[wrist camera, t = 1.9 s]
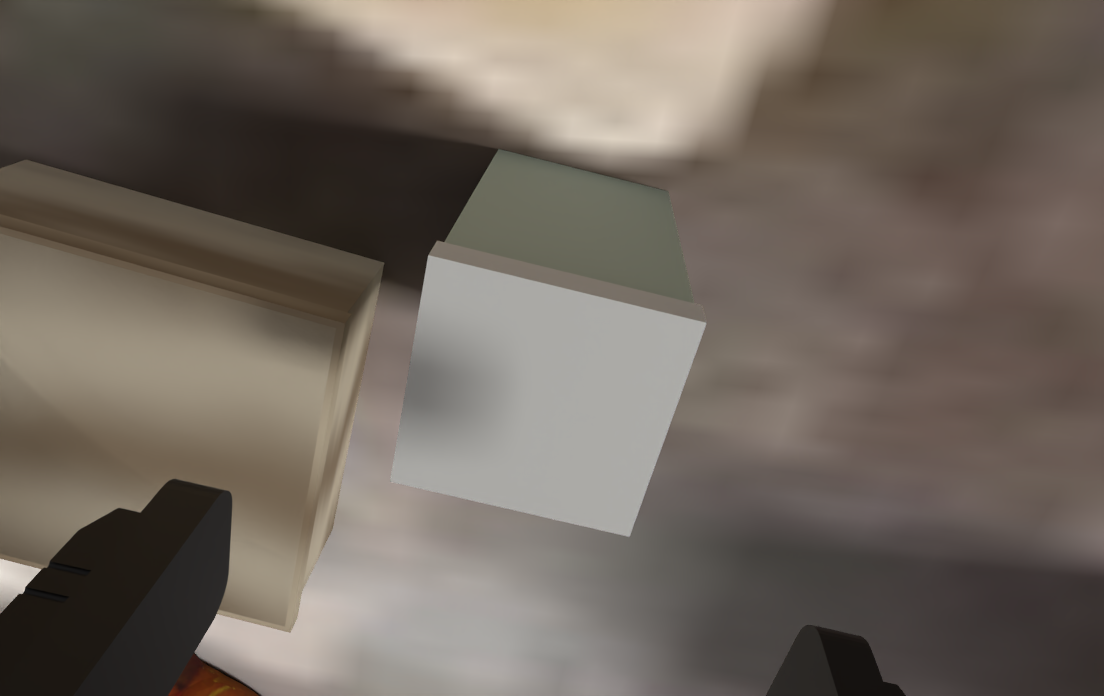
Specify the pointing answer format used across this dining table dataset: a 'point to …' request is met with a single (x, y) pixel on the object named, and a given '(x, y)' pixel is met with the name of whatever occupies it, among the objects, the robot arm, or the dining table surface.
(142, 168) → the dining table surface
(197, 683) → the toy
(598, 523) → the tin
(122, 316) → the beige box
